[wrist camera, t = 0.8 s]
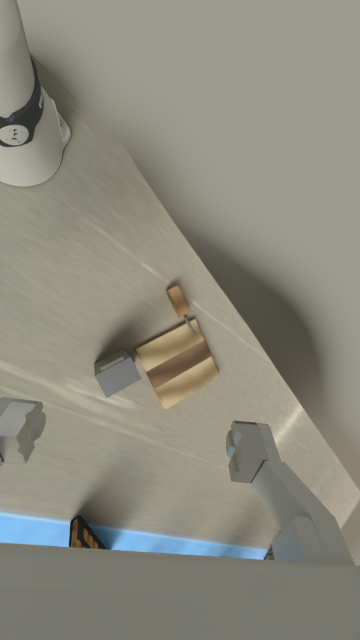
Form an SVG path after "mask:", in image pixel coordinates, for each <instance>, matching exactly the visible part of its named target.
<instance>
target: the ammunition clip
mask: <svg viewBox="0 0 360 640" xmlns="http://www.w3.org/2000/svg"><path fill="white" fill-rule="evenodd" d="M69 547H74V548H89V549H104V550H107V549H106V548H105V547H104V545H103V544H102V543H101V542H100V540H99V539H98V538H97V536H96V535H95V534H94V533H93V531H92V530H91V529H90V527H89V526H88V525H87V524H86V522H85V521H84V520H83V518H82V517H81V516H80V515H79V516H77V517H76V518H75V519H74V520H72V521H71V523H70V538H69Z"/></svg>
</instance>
